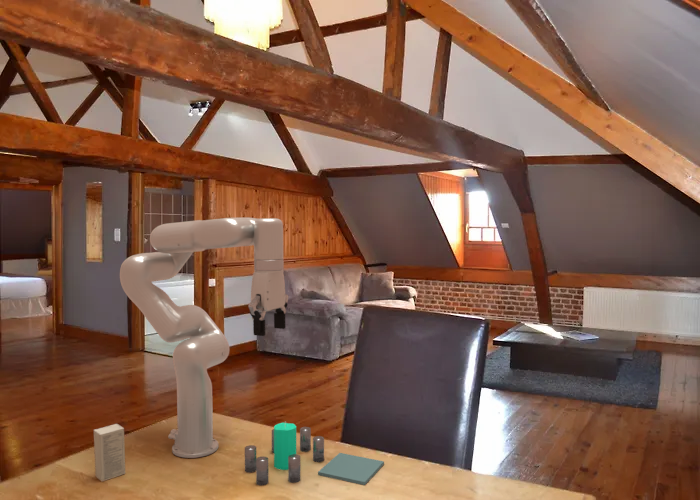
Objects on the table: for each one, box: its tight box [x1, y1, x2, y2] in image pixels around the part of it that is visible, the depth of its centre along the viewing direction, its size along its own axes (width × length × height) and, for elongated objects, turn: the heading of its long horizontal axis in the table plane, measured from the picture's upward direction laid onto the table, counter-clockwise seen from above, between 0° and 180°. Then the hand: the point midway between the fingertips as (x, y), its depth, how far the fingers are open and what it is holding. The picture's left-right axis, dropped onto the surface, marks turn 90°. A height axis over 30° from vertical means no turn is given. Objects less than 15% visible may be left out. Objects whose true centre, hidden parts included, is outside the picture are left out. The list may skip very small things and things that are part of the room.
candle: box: [273, 422, 297, 471], centre depth 153 cm, size 6×6×12 cm
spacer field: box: [244, 426, 325, 486], centre depth 153 cm, size 16×25×6 cm, turn 156°
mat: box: [317, 452, 385, 486], centre depth 151 cm, size 13×13×1 cm
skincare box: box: [93, 423, 126, 482], centre depth 146 cm, size 6×4×12 cm
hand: (269, 331), depth 151 cm, fingers open, 9 cm apart
